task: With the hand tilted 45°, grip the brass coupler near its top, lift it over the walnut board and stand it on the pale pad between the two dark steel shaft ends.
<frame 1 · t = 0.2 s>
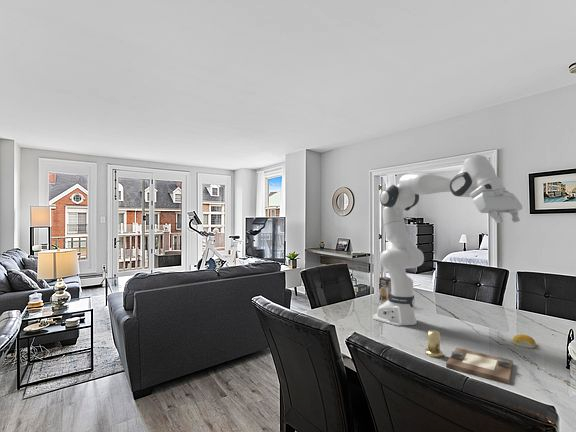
hand: (508, 221, 117), 54 cm above the table, tool tilted 30°, fingers open, 8 cm apart
bread roll: (524, 345, 137), on the table
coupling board: (479, 365, 117), on the table
brass coupler: (433, 354, 127), on the table
coffee box: (387, 303, 204), on the table
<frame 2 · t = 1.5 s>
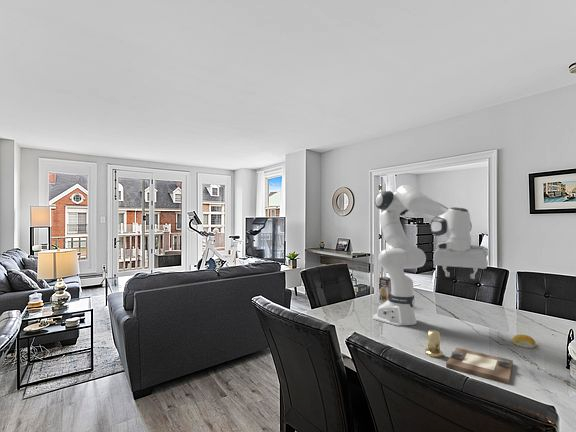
hand: (459, 277, 134), 30 cm above the table, tool pointing down, fingers open, 8 cm apart
nothing on the table moved.
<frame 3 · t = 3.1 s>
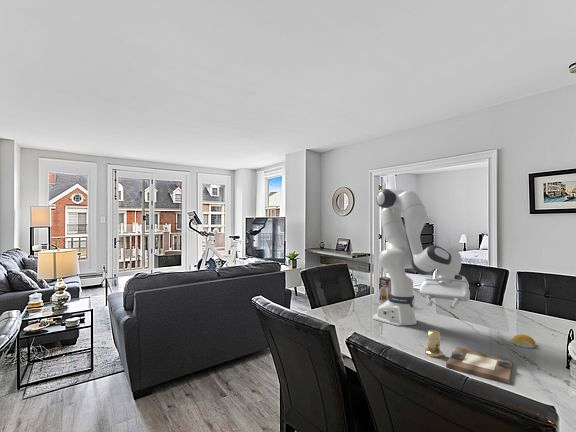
hand: (440, 306, 135), 17 cm above the table, tool tilted 45°, fingers open, 8 cm apart
nothing on the table moved.
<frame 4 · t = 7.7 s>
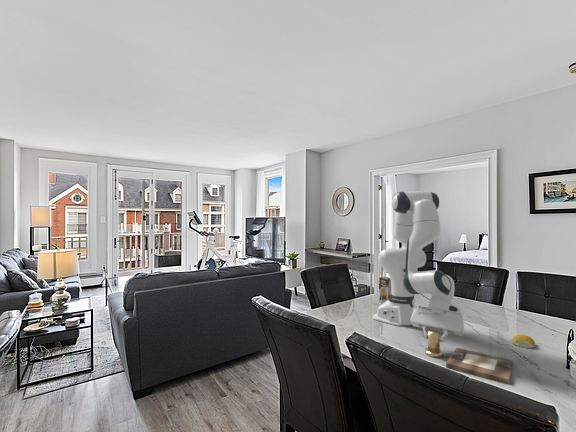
hand: (433, 339, 127), 6 cm above the table, tool tilted 45°, fingers closed on brass coupler, 4 cm apart
brass coupler: (433, 354, 127), on the table, touching gripper
everything else where it was.
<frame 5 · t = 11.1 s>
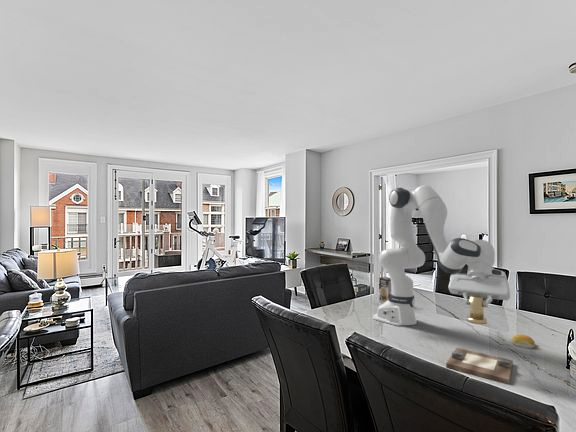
hand: (476, 305, 117), 23 cm above the table, tool tilted 45°, fingers closed on brass coupler, 4 cm apart
brass coupler: (476, 321, 117), point 16 cm above the table, touching gripper
everything else where it was.
when the fingers open (9 cm above the table, at t = 14.4 s): brass coupler drops 1 cm, resting on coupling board.
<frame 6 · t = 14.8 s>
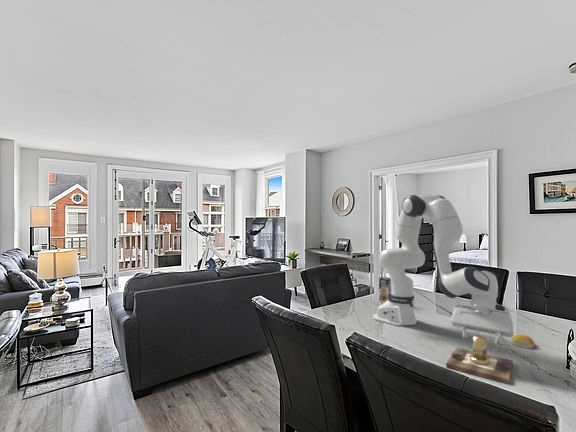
hand: (479, 341, 117), 9 cm above the table, tool tilted 45°, fingers open, 8 cm apart
brass coupler: (479, 361, 117), point 2 cm above the table, touching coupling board
everything else where it was.
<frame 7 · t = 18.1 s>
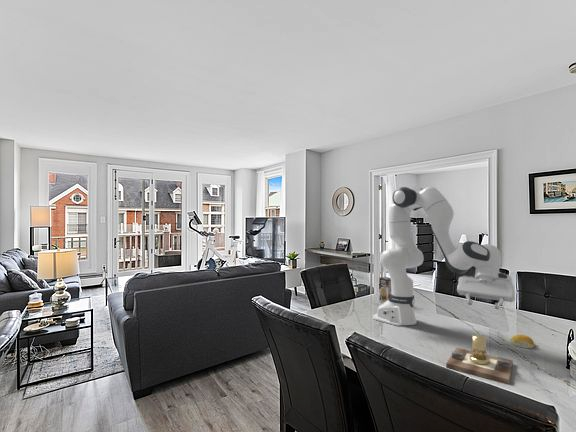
hand: (483, 306, 126), 20 cm above the table, tool tilted 45°, fingers open, 8 cm apart
nothing on the table moved.
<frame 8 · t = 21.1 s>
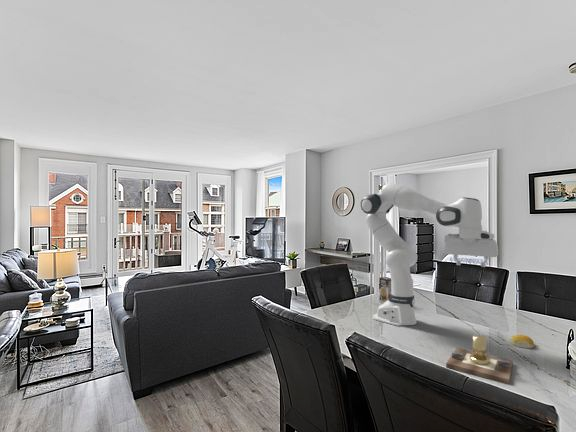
hand: (470, 265, 137), 34 cm above the table, tool pointing down, fingers open, 8 cm apart
nothing on the table moved.
at the end: brass coupler 0.1 cm off-centre on the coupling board, point 1.8 cm above the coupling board's base; brass coupler tilted 2°; the gripper is holding nothing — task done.
